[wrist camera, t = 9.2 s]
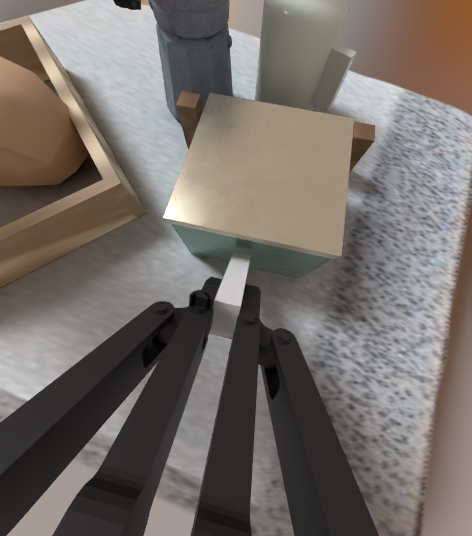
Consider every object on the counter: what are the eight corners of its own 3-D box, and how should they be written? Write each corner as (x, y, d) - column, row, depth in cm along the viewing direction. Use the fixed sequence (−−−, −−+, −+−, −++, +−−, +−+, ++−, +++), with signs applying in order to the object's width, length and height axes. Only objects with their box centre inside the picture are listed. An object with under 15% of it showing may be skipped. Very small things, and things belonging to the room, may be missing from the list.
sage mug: (242, 110, 26) (247, 6, 17) (275, 78, 28) (294, -31, 19) (304, 146, 24) (343, 52, 16) (335, 110, 26) (386, 7, 17)
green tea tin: (190, 255, 21) (163, 217, 13) (217, 165, 24) (210, 92, 16) (300, 280, 20) (341, 256, 12) (314, 184, 23) (354, 118, 15)
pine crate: (-79, 120, 25) (-153, 72, 20) (64, 68, 28) (28, 15, 23) (-30, 303, 19) (-120, 297, 14) (146, 212, 22) (121, 182, 17)
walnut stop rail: (188, 149, 24) (176, 104, 19) (192, 137, 25) (181, 90, 20) (343, 179, 23) (374, 141, 18) (345, 166, 24) (374, 125, 19)
